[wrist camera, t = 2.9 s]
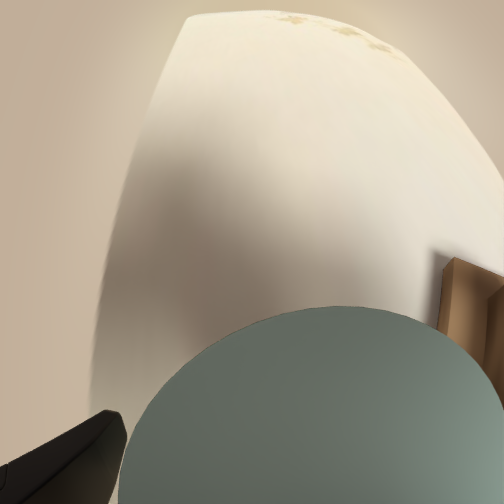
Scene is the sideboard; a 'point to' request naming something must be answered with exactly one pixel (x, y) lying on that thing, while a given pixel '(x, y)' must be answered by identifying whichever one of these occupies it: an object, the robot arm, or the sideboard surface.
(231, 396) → the dowel
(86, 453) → the robot arm
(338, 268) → the sideboard surface
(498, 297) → the ridge stand
